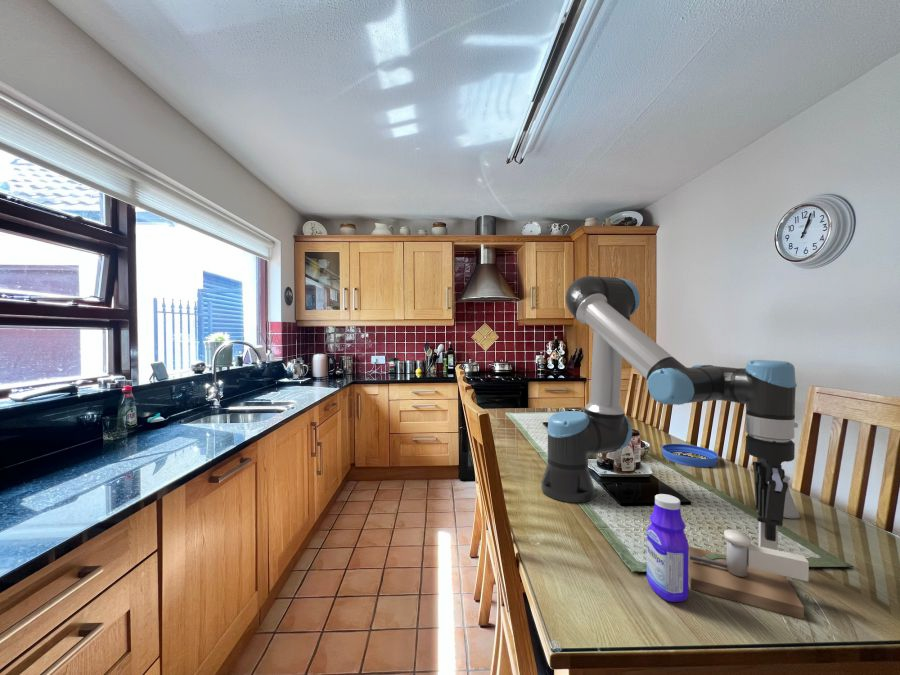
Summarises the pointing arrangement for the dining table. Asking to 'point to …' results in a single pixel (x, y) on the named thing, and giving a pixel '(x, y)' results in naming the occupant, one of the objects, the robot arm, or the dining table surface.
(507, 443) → the dining table surface
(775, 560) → the peg
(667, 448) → the bowl
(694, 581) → the board
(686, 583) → the bottle
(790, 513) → the flask
